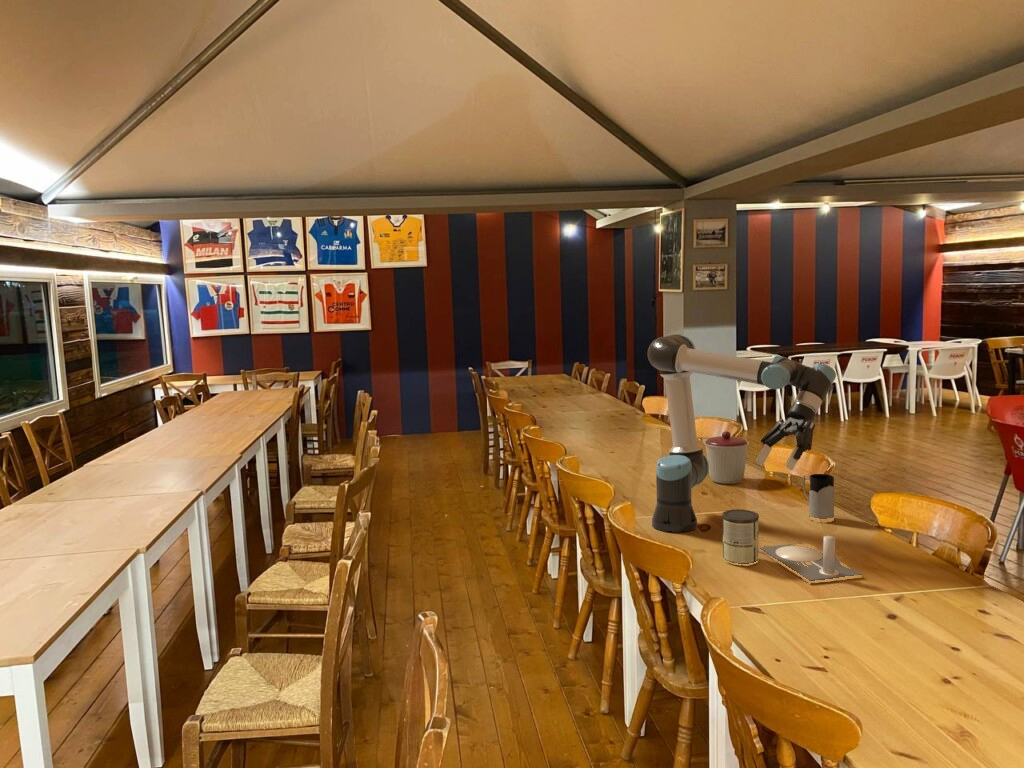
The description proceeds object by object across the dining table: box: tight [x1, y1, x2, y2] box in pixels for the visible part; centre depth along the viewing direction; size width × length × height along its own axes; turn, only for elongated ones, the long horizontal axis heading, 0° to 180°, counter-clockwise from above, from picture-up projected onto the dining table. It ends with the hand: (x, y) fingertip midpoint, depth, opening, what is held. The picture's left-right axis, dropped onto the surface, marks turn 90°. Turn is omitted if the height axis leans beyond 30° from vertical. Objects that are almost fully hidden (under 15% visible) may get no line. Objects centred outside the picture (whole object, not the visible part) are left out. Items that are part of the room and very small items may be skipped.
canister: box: [703, 431, 750, 485], centre depth 307 cm, size 18×18×21 cm
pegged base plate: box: [758, 535, 863, 581], centre depth 213 cm, size 16×27×11 cm, turn 10°
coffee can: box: [721, 508, 760, 564], centre depth 218 cm, size 10×10×14 cm
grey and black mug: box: [802, 473, 835, 519], centre depth 256 cm, size 9×14×15 cm, turn 15°
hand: (773, 465), depth 228 cm, fingers open, 13 cm apart
